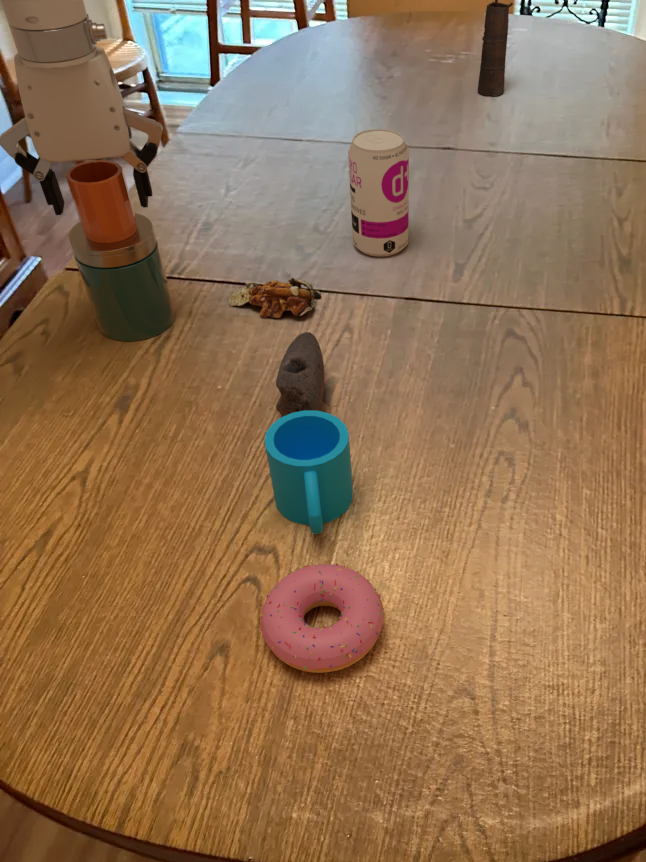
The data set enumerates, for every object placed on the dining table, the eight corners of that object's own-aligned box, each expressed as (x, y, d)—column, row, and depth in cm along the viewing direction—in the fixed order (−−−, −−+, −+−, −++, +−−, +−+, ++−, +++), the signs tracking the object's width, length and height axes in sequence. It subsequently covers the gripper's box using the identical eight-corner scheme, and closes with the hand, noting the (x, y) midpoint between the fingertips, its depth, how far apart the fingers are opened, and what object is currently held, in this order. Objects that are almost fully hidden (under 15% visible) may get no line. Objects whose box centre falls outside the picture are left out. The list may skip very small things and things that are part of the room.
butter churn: (525, 87, 158) (544, -89, 137) (510, 103, 152) (527, -77, 131) (482, 80, 160) (494, -93, 139) (465, 96, 155) (475, -82, 134)
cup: (83, 245, 92) (63, 186, 87) (86, 220, 96) (68, 162, 91) (137, 240, 93) (120, 181, 88) (138, 216, 97) (123, 158, 92)
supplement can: (419, 244, 117) (421, 138, 105) (380, 265, 113) (378, 158, 101) (380, 225, 120) (378, 122, 109) (341, 245, 116) (335, 140, 105)
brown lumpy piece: (237, 287, 109) (233, 263, 106) (322, 294, 108) (320, 269, 105) (222, 315, 104) (217, 291, 102) (311, 322, 103) (308, 298, 100)
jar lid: (71, 271, 92) (65, 255, 91) (77, 231, 99) (72, 215, 97) (156, 263, 93) (151, 246, 92) (157, 224, 100) (153, 208, 98)
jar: (95, 345, 100) (66, 261, 91) (100, 303, 106) (73, 220, 98) (175, 336, 101) (154, 252, 92) (175, 295, 108) (155, 212, 99)
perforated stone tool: (291, 360, 98) (285, 311, 92) (334, 361, 98) (329, 312, 92) (274, 441, 88) (265, 391, 83) (321, 442, 88) (315, 392, 82)
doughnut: (238, 646, 70) (230, 618, 67) (311, 564, 76) (307, 536, 73) (339, 702, 66) (335, 677, 63) (407, 612, 72) (407, 584, 69)
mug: (273, 473, 84) (263, 414, 78) (349, 465, 85) (344, 406, 79) (277, 558, 77) (266, 499, 70) (361, 548, 77) (357, 490, 71)
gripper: (142, 23, 83) (177, 185, 96) (-30, 33, 81) (30, 198, 93) (141, 47, 78) (178, 214, 91) (-43, 58, 76) (22, 228, 89)
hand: (103, 206), depth 92 cm, fingers open, 9 cm apart
